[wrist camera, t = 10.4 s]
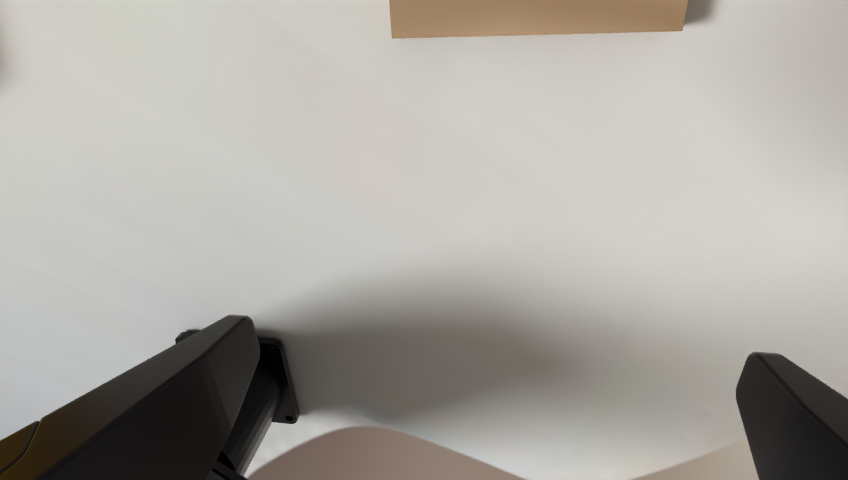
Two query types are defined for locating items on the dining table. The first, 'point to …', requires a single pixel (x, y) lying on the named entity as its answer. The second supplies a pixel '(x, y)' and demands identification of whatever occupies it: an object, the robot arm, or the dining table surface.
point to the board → (532, 17)
